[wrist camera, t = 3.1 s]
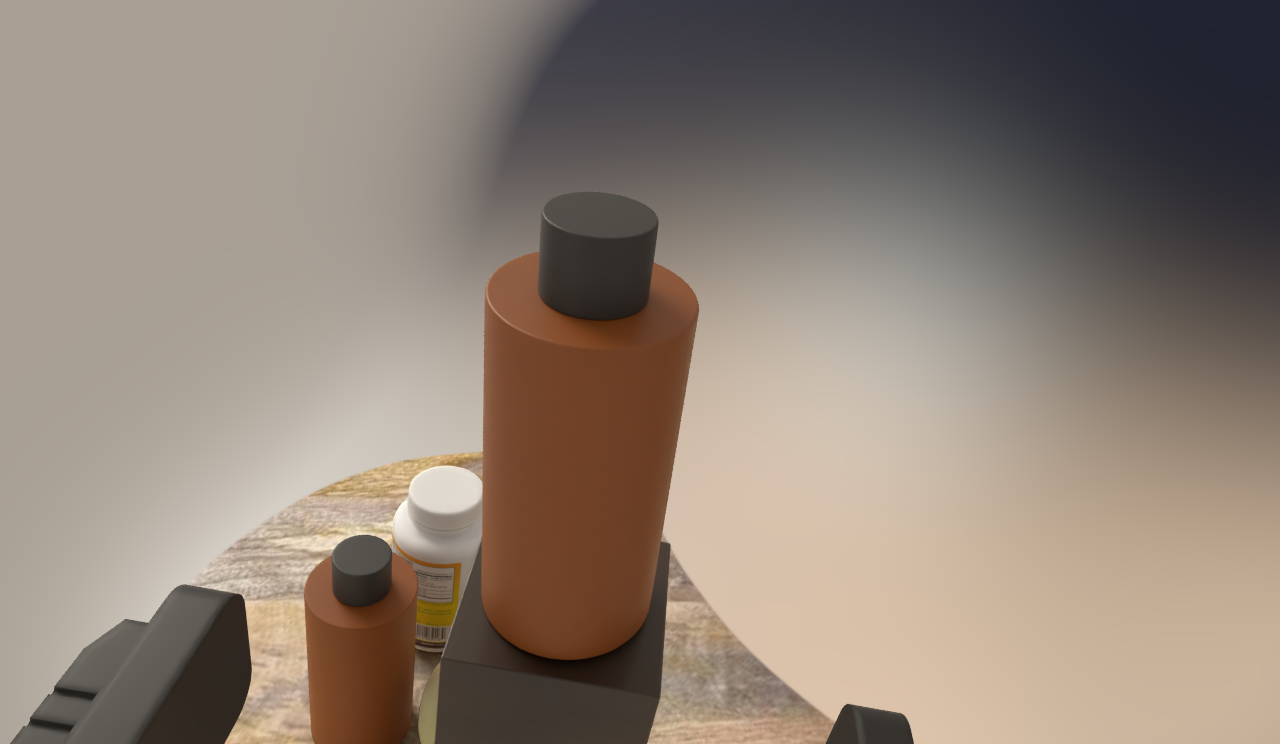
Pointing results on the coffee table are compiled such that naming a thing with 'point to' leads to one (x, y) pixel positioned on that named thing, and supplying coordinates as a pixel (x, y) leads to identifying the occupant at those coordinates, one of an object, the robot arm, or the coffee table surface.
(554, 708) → the pedestal
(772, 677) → the coffee table surface
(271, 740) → the coffee table surface
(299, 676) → the coffee table surface
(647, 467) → the amber bottle
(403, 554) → the supplement bottle
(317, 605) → the amber bottle
